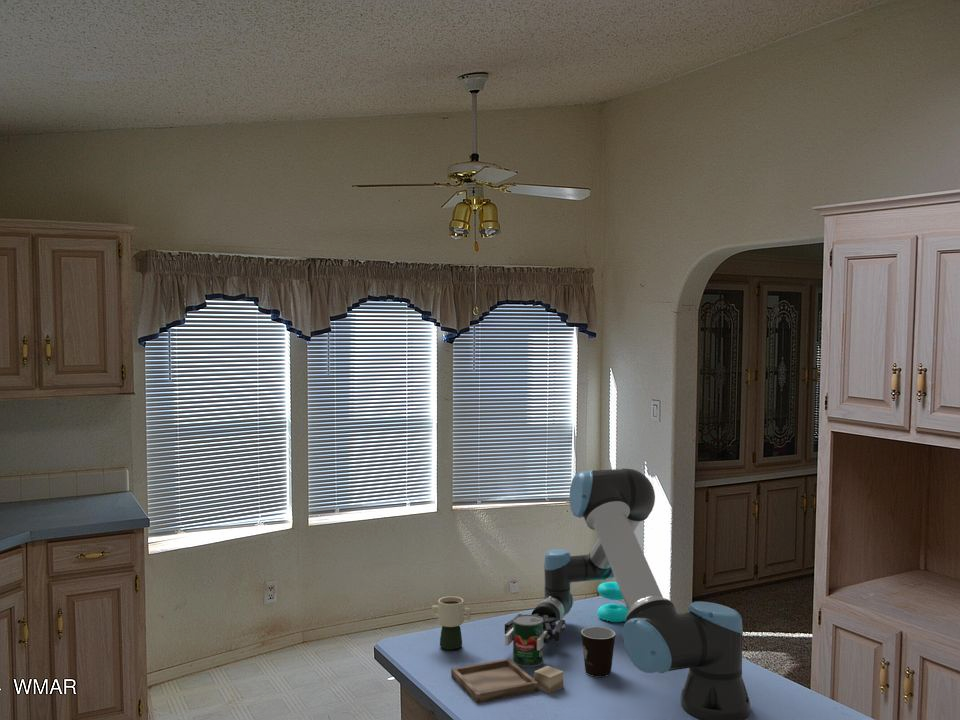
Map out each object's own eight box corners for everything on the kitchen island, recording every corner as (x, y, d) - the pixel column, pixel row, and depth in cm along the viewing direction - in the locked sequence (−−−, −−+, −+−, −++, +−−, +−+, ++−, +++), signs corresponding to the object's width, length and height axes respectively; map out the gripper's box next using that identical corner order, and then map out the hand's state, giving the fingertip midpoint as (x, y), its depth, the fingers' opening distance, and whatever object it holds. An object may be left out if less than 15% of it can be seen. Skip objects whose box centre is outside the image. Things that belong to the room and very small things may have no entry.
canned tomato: (516, 668, 205) (516, 625, 205) (510, 656, 213) (510, 615, 213) (546, 666, 206) (546, 623, 206) (539, 654, 214) (539, 613, 214)
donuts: (591, 585, 242) (610, 578, 249) (591, 618, 242) (609, 610, 250) (619, 592, 235) (637, 585, 242) (618, 626, 235) (637, 617, 243)
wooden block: (563, 687, 194) (563, 671, 194) (549, 694, 190) (549, 677, 190) (547, 681, 197) (547, 665, 197) (534, 687, 194) (534, 671, 194)
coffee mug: (614, 680, 198) (614, 640, 197) (579, 677, 199) (579, 637, 199) (616, 662, 209) (616, 624, 209) (583, 659, 211) (583, 621, 210)
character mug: (473, 644, 221) (473, 597, 221) (467, 653, 214) (467, 605, 214) (435, 641, 224) (435, 594, 223) (428, 650, 217) (428, 602, 217)
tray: (538, 690, 192) (538, 682, 191) (476, 702, 185) (476, 694, 185) (509, 666, 206) (509, 658, 206) (451, 676, 200) (451, 668, 200)
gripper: (513, 597, 230) (484, 623, 209) (583, 605, 222) (561, 633, 201) (513, 623, 230) (484, 651, 209) (583, 632, 222) (561, 663, 201)
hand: (522, 642), depth 205 cm, fingers closed on canned tomato, 8 cm apart
